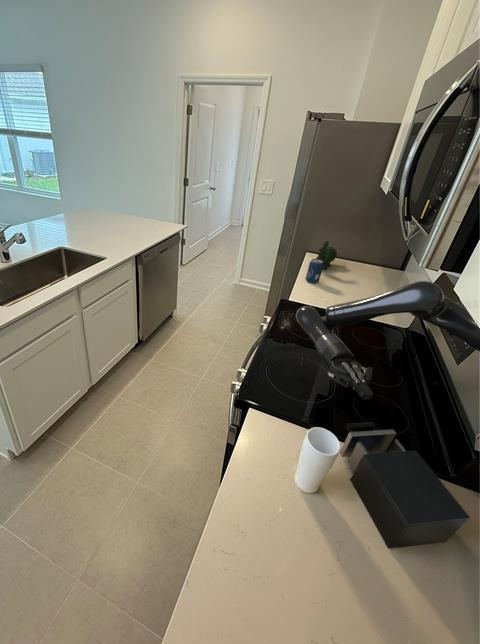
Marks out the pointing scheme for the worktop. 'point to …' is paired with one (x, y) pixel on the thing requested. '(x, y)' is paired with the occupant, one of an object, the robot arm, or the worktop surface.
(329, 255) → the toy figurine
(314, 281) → the soda can
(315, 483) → the drinking glass
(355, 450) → the drawer
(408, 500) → the cabinet
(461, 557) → the worktop surface
